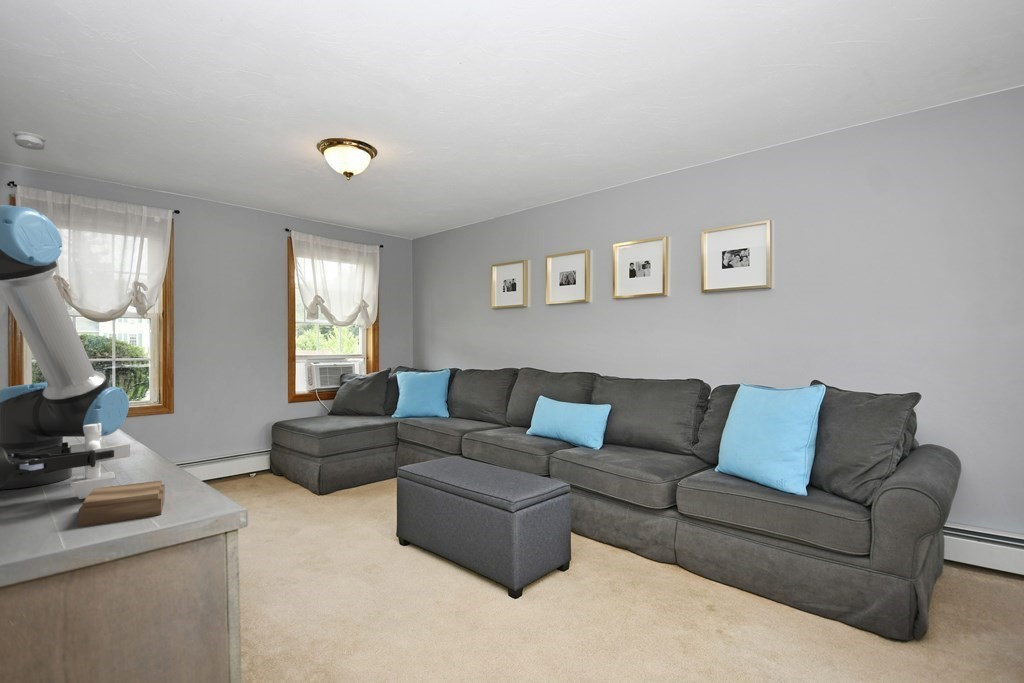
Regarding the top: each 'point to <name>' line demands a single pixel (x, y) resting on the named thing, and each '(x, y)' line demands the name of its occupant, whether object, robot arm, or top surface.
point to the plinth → (122, 503)
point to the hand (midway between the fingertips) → (117, 448)
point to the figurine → (92, 474)
